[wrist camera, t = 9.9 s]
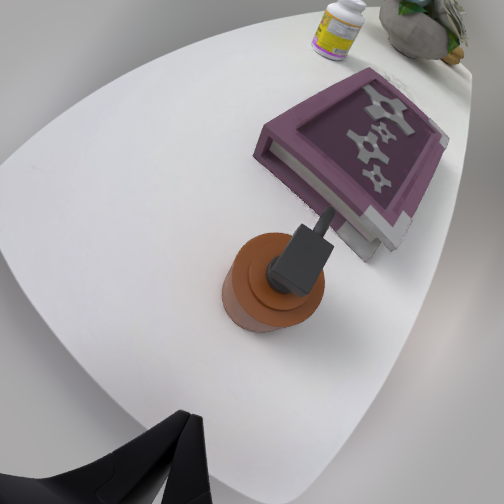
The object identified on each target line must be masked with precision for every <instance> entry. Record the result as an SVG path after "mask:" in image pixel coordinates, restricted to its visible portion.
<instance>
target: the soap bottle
mask: <svg viewBox="0 0 504 504" xmlns="http://www.w3.org/2000/svg"><path fill="white" fill-rule="evenodd" d="M291 237H292V236H291V235H288V234H284V233H266V234H262V235H259V236H257V237H255V238H253V239H251V240H250V241H248V242H247V243H246V244H245V245H244V246H243V247H242V248H241V250H240V251H239V252H238V254H237V256H236V258H235V260H234V262H233V264H232V266H231V268H230V270H229V272H228V274H227V276H226V278H225V281H224V284H223V288H222V300H223V304H224V307H225V310H226V312H227V314H228V315H229V317H230V318H231V319H232V320H233V321H234V322H235V323H236V324H237V325H239V326H240V327H242V328H244V329H246V330H248V331H252V332H268V331H273V330H277V329H281V328H285V327H289V326H293V325H296V324H299V323H301V322H303V321H304V320H306V319H307V318H309V317H310V316H311V315H312V314H313V313H314V312H315V310H316V309H317V308H318V306H319V304H320V302H321V300H322V297H323V294H324V288H325V279H324V272H323V269H322V271H321V273H320V275H319V276H318V278H317V280H316V282H315V284H314V286H313V287H312V289H311V291H310V293H309V294H308V295H306V296H304V297H300V296H298V295H297V294H295V293H294V292H292V291H291V290H289V289H288V288H286V287H285V286H283V285H282V284H281V283H279V282H278V281H276V280H275V279H273V278H272V277H270V276H269V275H268V273H269V272H270V270H271V269H272V267H273V265H274V264H275V262H276V261H277V259H278V258H279V256H280V255H281V253H282V251H283V250H284V248H285V247H286V245H287V244H288V242H289V240H290V239H291Z"/></svg>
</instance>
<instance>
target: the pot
mask: <svg viewBox="0 0 504 504" xmlns="http://www.w3.org/2000/svg"><path fill="white" fill-rule="evenodd" d="M461 58H462V59H463V58H464V52H463V50H462V49H461V47H460V46H458V47H457V48H455V49H454V50H453V51H452V52H451V53H450V54H449V55H447V56H445V57H444V58H442V60H444V61H445V62H446V63H448V64H450V65H456V64H459V63H460V59H461Z"/></svg>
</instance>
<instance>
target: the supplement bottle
mask: <svg viewBox="0 0 504 504" xmlns="http://www.w3.org/2000/svg"><path fill="white" fill-rule="evenodd" d="M365 8H366V4H365V3H364V2H363V1H361V0H338V2H337V3H331V4H329V5H328V7H327V9H326V11H325V13H324V16H323V18H322V20H321V22H320V24H319V27H318V29H317V31H316V34H315V36H314V38H313V41H312V47H313V49H314V50H315V51H316V52H318V53H319V54H321V55H322V56H325V57H327V58H329V59H333V60H343V59H344V58H345V57H346V55H347V53H348V51H349V50H350V48H351V46H352V44H353V42H354V40H355V38H356V37H357V35H358V33H359V31H360V29H361V27H362V26H363V24H364V17H363V16H362V15H361V13H362V11H363V10H365Z"/></svg>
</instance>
